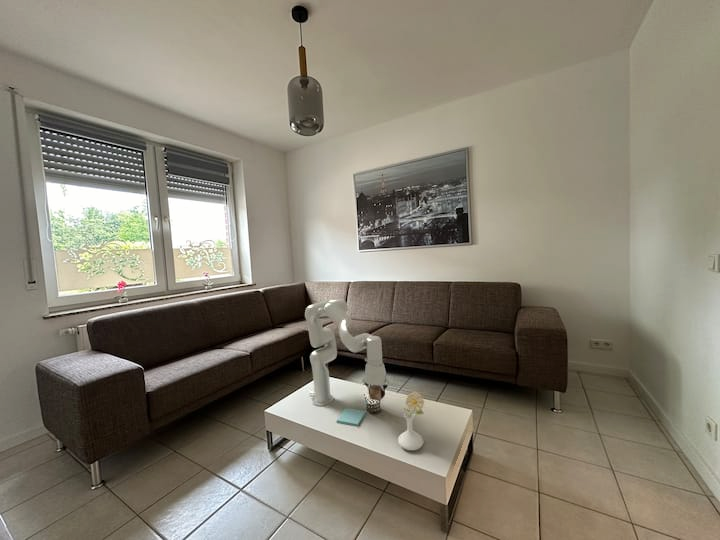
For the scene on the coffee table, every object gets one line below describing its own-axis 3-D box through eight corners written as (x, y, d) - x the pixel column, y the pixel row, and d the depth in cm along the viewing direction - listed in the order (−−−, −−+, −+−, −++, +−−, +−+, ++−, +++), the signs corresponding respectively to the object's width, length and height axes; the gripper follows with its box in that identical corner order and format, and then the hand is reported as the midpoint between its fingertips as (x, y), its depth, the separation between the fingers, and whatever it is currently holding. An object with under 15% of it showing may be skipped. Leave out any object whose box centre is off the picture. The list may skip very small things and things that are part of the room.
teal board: (336, 422, 148) (336, 420, 148) (346, 410, 159) (345, 408, 159) (357, 426, 144) (357, 424, 144) (365, 413, 155) (365, 411, 155)
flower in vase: (394, 448, 126) (390, 394, 125) (404, 433, 136) (401, 383, 134) (422, 457, 119) (419, 400, 118) (430, 441, 129) (428, 388, 127)
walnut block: (370, 399, 141) (369, 389, 141) (373, 393, 146) (373, 384, 146) (380, 400, 139) (380, 390, 139) (383, 395, 144) (383, 385, 144)
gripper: (356, 362, 141) (358, 397, 143) (389, 365, 135) (391, 402, 136) (361, 357, 148) (363, 390, 149) (393, 359, 142) (395, 394, 143)
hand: (376, 395), depth 143 cm, fingers closed on walnut block, 5 cm apart
